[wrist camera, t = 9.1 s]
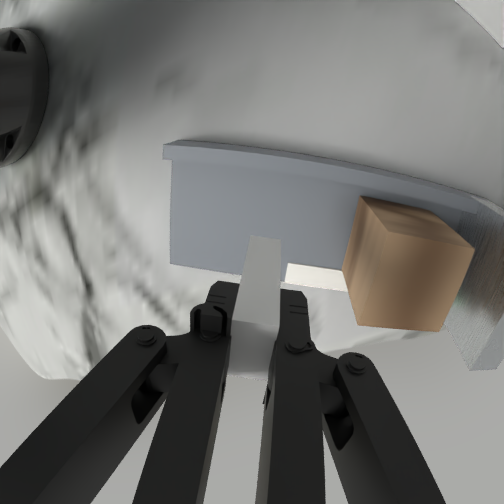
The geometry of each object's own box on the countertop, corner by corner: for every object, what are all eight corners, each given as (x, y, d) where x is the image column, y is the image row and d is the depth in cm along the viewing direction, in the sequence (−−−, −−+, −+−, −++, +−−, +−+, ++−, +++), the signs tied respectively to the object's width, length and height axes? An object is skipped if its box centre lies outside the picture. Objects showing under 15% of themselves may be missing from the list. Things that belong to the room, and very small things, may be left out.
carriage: (338, 280, 24) (352, 337, 18) (359, 195, 21) (388, 231, 15) (410, 289, 24) (439, 343, 18) (436, 212, 21) (481, 250, 15)
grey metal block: (430, 300, 24) (469, 370, 16) (467, 194, 20) (535, 239, 12) (454, 303, 24) (496, 369, 16) (491, 202, 20) (558, 247, 12)
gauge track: (174, 257, 27) (161, 275, 24) (178, 139, 22) (163, 144, 19) (449, 296, 25) (463, 315, 23) (484, 198, 21) (504, 210, 18)
